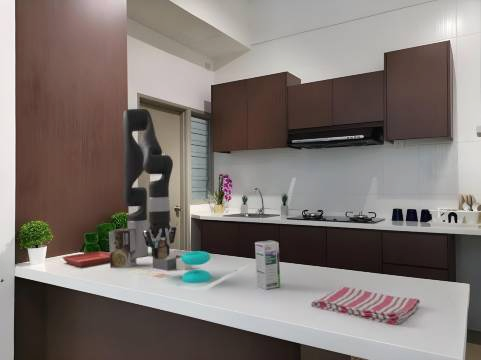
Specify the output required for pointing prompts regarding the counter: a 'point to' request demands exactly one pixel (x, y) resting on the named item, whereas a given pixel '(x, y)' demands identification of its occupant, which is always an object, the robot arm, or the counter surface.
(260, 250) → the syrup box
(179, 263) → the die
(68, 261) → the plant saucer
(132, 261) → the coffee box
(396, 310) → the dish towel
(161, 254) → the pawn
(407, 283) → the counter surface
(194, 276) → the donuts
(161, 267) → the board
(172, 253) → the dome
